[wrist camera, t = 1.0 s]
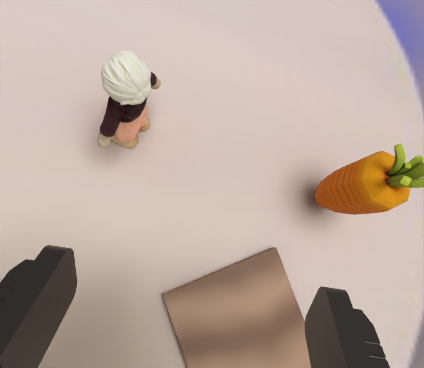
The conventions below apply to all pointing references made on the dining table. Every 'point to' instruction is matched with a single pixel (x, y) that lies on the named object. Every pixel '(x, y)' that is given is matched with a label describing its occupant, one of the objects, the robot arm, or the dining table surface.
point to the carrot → (371, 183)
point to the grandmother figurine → (126, 98)
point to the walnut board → (240, 317)
